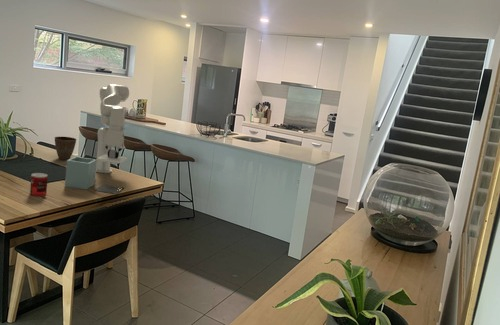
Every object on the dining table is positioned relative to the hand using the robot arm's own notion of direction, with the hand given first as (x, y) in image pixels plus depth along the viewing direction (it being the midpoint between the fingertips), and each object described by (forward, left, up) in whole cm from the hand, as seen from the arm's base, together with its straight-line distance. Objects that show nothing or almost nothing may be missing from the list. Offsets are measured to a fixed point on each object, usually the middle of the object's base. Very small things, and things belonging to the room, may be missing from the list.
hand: (112, 157), depth 234 cm
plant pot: (-59, -53, -21) cm, 82 cm away
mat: (0, 0, -20) cm, 20 cm away
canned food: (+27, -30, -21) cm, 45 cm away
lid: (0, 0, -1) cm, 1 cm away
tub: (0, -18, -20) cm, 27 cm away
